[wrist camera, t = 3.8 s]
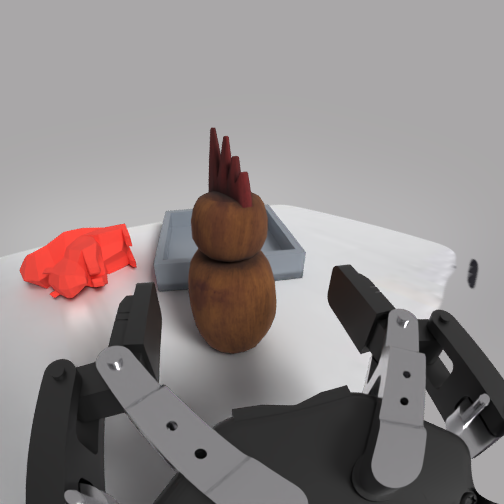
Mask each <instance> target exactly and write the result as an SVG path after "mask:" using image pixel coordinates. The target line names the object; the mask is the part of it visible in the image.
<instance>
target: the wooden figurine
mask: <svg viewBox="0 0 504 504" xmlns="http://www.w3.org/2000/svg"><path fill="white" fill-rule="evenodd" d="M209 153H210V154H209V192H208V193H206V194H204V195H202V196H200V197H199V198H198V200H197V201H196V203H195V205H194V208H193V211H192V217H191V230H192V239H193V240H194V242H195V244H196V246H197V247H198V249H197V251H196V252H195V254H194V256H193V258H192V260H191V262H190V267H189V277H188V286H189V297H190V304H191V309H192V313H193V317H194V320H195V324H196V326H197V328H198V330H199V332H200V334H201V335H202V337H203V338H204V339H205V341H206V342H207V343H208V344H209V345H210V346H211V347H212V348H214V349H216V350H218V351H220V352H225V353H232V354H234V353H240V352H245V351H247V350H250V349H252V348H254V347H255V346H256V345H257V344H258V343H259V342H260V341H261V339H262V338H263V337H264V336H265V335H266V334H267V332H268V330H269V329H270V327H271V325H272V322H273V320H274V317H275V313H276V291H275V280H274V276H273V272H272V268H271V266H270V263H269V261H268V259H267V258H266V256H265V255H264V254H263V252H262V251H261V249H262V247H263V245H264V242H265V240H266V238H267V231H268V217H267V213H266V209H265V205H264V203H263V201H262V200H261V198H260V197H259V196H258V195H256V194H254V193H252V192H251V190H250V183H249V177H248V173H247V172H241V170H240V162H239V157H238V156H233V157H232V158H231V152H230V144H229V137H228V136H224V137H223V142H222V150H221V154H220V149H219V144H218V139H217V134H216V129H215V128H211V130H210V152H209Z"/></svg>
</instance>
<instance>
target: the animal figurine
mask: <svg viewBox="0 0 504 504" xmlns="http://www.w3.org/2000/svg"><path fill="white" fill-rule="evenodd" d="M129 246H132V243H131V239H130V235H129V233H128V230H127V228H126V225H125V224H120V225H115V226H110V227H105V228H81V229H76V230H71V231H67V232H63V233H62V234H60V235H59V236H58V237H56V238H55V239H54V240H53V241H51V242H50V243H49V244H47V245H46V246H44V247H42V248H41V249H39V250H37V251H35V252H33V253H31V254H29V255H27V256H26V258H25V259H24V261H23V263H22V265H21V268H20V273H21V275H22V277H23V280H24V281H26V282H29V283H32V284H36V285H39V286H41V287H44V288H49V287H52V288H53V289H54V290H55V291H53V292H52V293H50V295H51V296H52V297H54V298H55V297H57V296H59V295H60V294H61V295H63V296H64V297H66V298H73V297H74V296H75V295H77V294H78V293H79V292H80V291H81V290H82V289H83V288H84V287H85V286H89V287H99V286H105V285H104V284H107V283H108V280H107V274H110V273H112V272H115V271H117V270H119V269H121V268H123V267H124V266H126V265H128V264H130V265H131V266H132V267H136V261H135V259H134V257H133V255H132V252H131V250H130V248H129ZM136 268H137V267H136Z"/></svg>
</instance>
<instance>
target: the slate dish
mask: <svg viewBox="0 0 504 504" xmlns="http://www.w3.org/2000/svg"><path fill="white" fill-rule="evenodd" d="M265 209H266V213H267V217H268V231H267V238H266V240H265V242H264V245H263V247H262V249H261V251H262V252H263V254H264V255H265V256H266V258H267V259H268V261H269V263H270V266H271V268H272V272H273V276H274V280H275V281H277V280H286V279H295V278H302V276H303V269H304V261H305V254H306V252H305V251H304V249H303V248H302V247H301V246H300V244H299V243H298V242H297V240H296V239H295V238H294V237H293V235H292V234H291V233H290V231H289V230H288V229H287V228H286V226H285V225H284V224H283V223H282V221H281V220H280V219H279V217H278V216H277V215H276V214H275V212H274V211H273V210H272V209H271V208H270V206H269V205H265ZM192 211H193V209H186V210H174V211H166V212H165V216H164V220H163V225H162V229H161V233H160V237H159V242H158V246H157V251H156V256H155V261H154V270H155V275H156V280H157V285H158V290H159V291H169V290H182V289H189V286H188V277H189V267H190V262H191V260H192V258H193V256H194V254H195V252H196V251H197V249H198V247H197V246H196V244H195V242H194V240H193V239H192V230H191V217H192Z"/></svg>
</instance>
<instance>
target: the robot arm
mask: <svg viewBox="0 0 504 504" xmlns="http://www.w3.org/2000/svg"><path fill="white" fill-rule="evenodd" d="M328 302H329V305H330V307H331V308H332V310H333V312H334V313H335V315H336V316H337V318H338V319H339V321H340V322H341V324H342V325H343V327H344V329H345V330H346V332H347V333H348V335H349V336H350V338H351V340H352V341H353V343H354V344H355V346H356V348H357V349H358V351H359V352H360V354H362V353H366V352H369V351H370V352H371V353H372V355H371V357H370V360H369V365H368V370H367V374H366V379H365V384H364V388H363V391H362V393H356V392H350V391H349V389H348V387H347V385H346V386H342V387H339V388H335V389H332V390H328V391H324V392H321V393H319V394H317V395H315V396H313V397H311V398H309V399H307V400H305V401H303V402H301V403H299V404H297V405H258V406H251V407H244V408H237V409H232V417H231V418H229V419H226V420H224V421H222V422H220V423H218V424H217V425H215V426H214V427H213V428H211V427H210V426H209V425H208V424H207V423H205V422H204V421H203V420H202V419H201V418H200V417H199V416H198V415H196V414H195V413H194V412H193V411H192V410H191V409H190V408H189V407H188V406H187V405H186V404H185V403H184V402H183V401H182V400H181V399H180V398H179V397H178V396H176V395H175V394H174V393H173V392H172V391H171V390H170V389H169V388H168V387H167V386H166V385H162V386H161V385H160V384H159V363H160V344H161V329H162V317H161V310H160V306H159V301H158V297H157V292H156V287H155V284H154V282H150V283H137V284H136V288H135V292H134V295H132V296H126V297H125V298H124V299H123V300H122V301H121V303H120V304H119V308H118V311H117V315H116V319H115V322H114V326H113V330H112V334H111V338H110V342H109V346H108V348H106V349H104V350H103V351H102V352H101V353H100V354H99V355H98V357H97V359H96V362H94V363H91V364H88V365H84V366H80V367H75V366H74V364H73V363H72V362H71V361H69V360H66V359H60V360H56V361H54V362H52V363H51V364H50V365H49V366H48V367H47V368H46V370H45V372H44V375H43V379H42V383H41V387H40V391H39V395H38V399H37V404H36V409H35V414H34V419H33V424H32V430H31V437H30V444H29V452H28V462H27V476H26V504H119V503H118V501H117V500H116V499H115V498H114V497H112V496H111V495H109V494H107V493H105V479H104V421H105V417H109V416H113V415H117V414H120V413H124V412H125V413H126V415H127V416H128V417H129V419H130V420H131V421H132V422H133V424H134V425H135V426H136V427H137V429H138V430H139V431H140V432H141V434H142V435H143V436H144V437H145V438H146V440H147V441H148V442H149V443H150V444H151V445H152V447H153V448H154V449H155V450H156V451H157V452H158V453H159V455H160V456H161V457H162V458H163V459H164V460H165V461H166V462H167V463H168V464H169V465H170V466H171V467H172V468H173V469H174V470H175V471H176V472H177V473H176V475H175V476H174V477H173V479H172V480H171V481H170V482H169V484H168V485H167V486H166V488H165V489H164V490H163V492H162V493H161V494H160V495H159V497H158V498H157V499H156V500H155V502H154V503H153V504H497V503H494V502H492V501H489V500H487V499H485V498H484V497H482V496H481V495H479V494H478V492H477V491H476V489H475V487H474V484H473V480H472V472H471V459H473V458H475V457H477V456H478V455H479V454H481V453H482V452H483V451H485V450H486V449H487V448H489V447H490V446H491V445H493V444H494V443H495V442H496V441H498V440H499V439H500V438H501V437H502V436H504V380H503V378H502V377H501V375H500V374H499V372H498V371H497V370H496V368H495V367H494V366H493V364H492V363H491V362H490V361H489V359H488V358H487V356H486V355H485V354H484V353H483V352H482V350H481V349H480V348H479V346H478V345H477V344H476V343H475V341H474V340H473V339H472V338H471V337H470V335H469V334H468V333H467V332H466V331H465V329H464V328H463V327H462V326H461V325H460V324H459V322H458V321H457V320H456V319H455V318H454V317H453V316H452V315H451V314H450V313H448V312H446V311H443V310H435V311H433V312H432V314H431V316H430V318H429V319H417V318H416V317H415V315H413V314H412V313H411V312H409V311H407V310H404V309H395V307H394V306H393V305H392V304H391V303H390V302H389V301H388V300H387V298H386V297H385V296H384V295H383V294H382V293H381V292H380V291H379V289H378V288H377V287H375V285H374V284H373V283H372V282H371V281H370V280H369V279H368V278H367V277H365V276H363V275H362V274H359V273H358V272H357V271H356V270H355V269H354V268H353V267H352V266H351V265H341V266H335V267H334V268H333V270H332V275H331V280H330V285H329V290H328ZM442 350H444V351H445V352H446V354H447V355H448V356H449V358H450V359H451V360H452V362H453V371H452V373H451V374H450V373H449V371H448V370H447V368H446V367H445V365H444V364H443V362H442V361H441V360H440V358H439V355H440V353H441V352H442ZM425 389H426V390H427V392H428V394H429V395H430V397H431V399H432V400H433V402H434V404H435V405H436V407H437V409H438V411H439V412H440V414H441V415H442V418H443V419H444V421H445V423H446V430H445V429H443V428H440V427H438V426H436V425H434V424H431V423H429V422H427V421H424V408H425V407H424V406H425Z"/></svg>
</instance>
